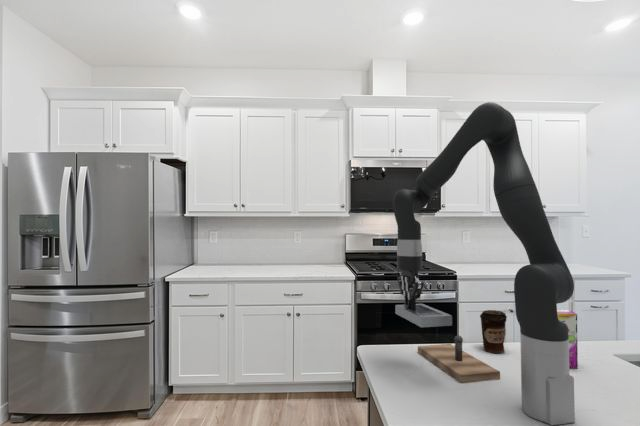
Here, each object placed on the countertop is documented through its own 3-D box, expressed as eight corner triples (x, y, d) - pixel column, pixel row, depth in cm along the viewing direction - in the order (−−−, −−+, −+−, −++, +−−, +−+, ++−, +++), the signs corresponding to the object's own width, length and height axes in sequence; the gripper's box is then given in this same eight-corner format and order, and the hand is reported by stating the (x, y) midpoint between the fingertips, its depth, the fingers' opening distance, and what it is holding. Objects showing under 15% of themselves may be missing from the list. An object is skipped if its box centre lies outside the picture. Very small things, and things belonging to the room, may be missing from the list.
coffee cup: (513, 355, 116) (512, 315, 116) (487, 355, 116) (486, 314, 117) (500, 346, 125) (499, 309, 125) (476, 346, 125) (475, 308, 125)
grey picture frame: (452, 325, 95) (452, 315, 95) (421, 327, 93) (421, 317, 93) (422, 312, 111) (422, 303, 111) (395, 313, 109) (395, 304, 109)
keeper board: (500, 379, 98) (499, 344, 98) (461, 382, 95) (460, 348, 96) (450, 349, 121) (449, 322, 122) (417, 352, 119) (417, 324, 119)
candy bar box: (539, 368, 106) (537, 312, 106) (531, 361, 111) (529, 308, 111) (579, 369, 105) (578, 313, 105) (569, 363, 110) (567, 309, 110)
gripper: (432, 255, 104) (433, 315, 103) (410, 252, 117) (411, 306, 117) (408, 256, 102) (409, 317, 102) (389, 253, 116) (389, 307, 115)
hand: (410, 311), depth 109 cm, fingers closed on grey picture frame, 1 cm apart
